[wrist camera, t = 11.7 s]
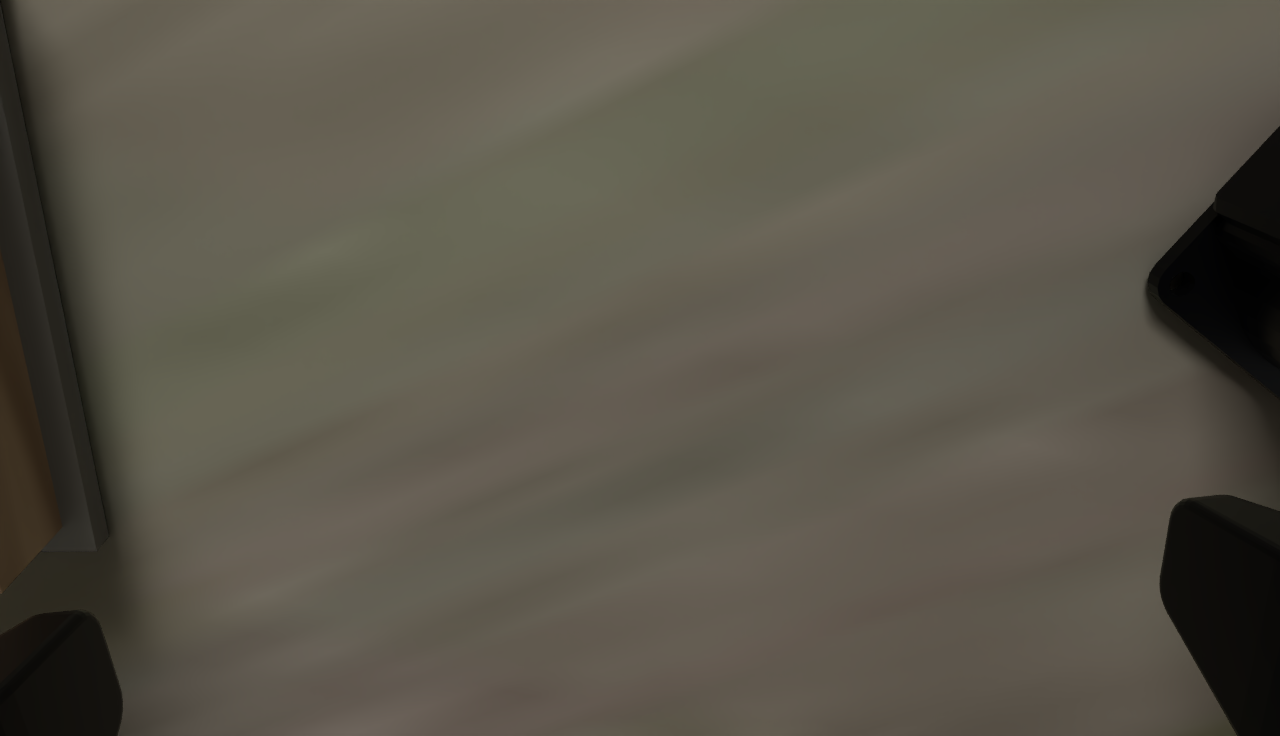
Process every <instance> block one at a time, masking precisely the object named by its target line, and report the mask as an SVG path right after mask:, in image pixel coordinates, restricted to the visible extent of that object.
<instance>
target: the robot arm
mask: <svg viewBox="0 0 1280 736" xmlns="http://www.w3.org/2000/svg"><path fill="white" fill-rule="evenodd" d="M1181 272H1184V280H1183V282H1182V284H1181V285H1180V286H1179V287H1177V288H1176V289H1172V290H1170V282H1171V280H1172V279H1173V277H1174V276H1176V275H1177V274H1178V273H1181ZM1148 287H1149V291H1150V292H1151V294H1152V295H1153V296H1154V297H1155V298H1156V299H1157V300H1158V301H1159V302H1161V303H1162V304H1163V305H1164V306H1166V307H1167V308H1168V309H1169V310H1171V311H1172V312H1173V313H1174V314H1175V315H1177V316H1178V317H1179V318H1180V319H1182V320H1183V321H1184V322H1185V323H1186V324H1188V325H1189V326H1190V327H1191V328H1193V329H1194V330H1195V331H1196V332H1197V333H1199V334H1200V335H1201V336H1202V337H1204V338H1205V339H1206V340H1207V341H1208V342H1210V343H1211V344H1212V345H1213V346H1215V347H1216V348H1217V349H1218V350H1220V351H1221V352H1222V353H1223V354H1224V355H1226V356H1227V357H1228V358H1229V359H1231V360H1232V361H1233V362H1234V363H1235V364H1237V365H1238V366H1239V367H1240V368H1242V369H1243V370H1244V371H1245V372H1246V373H1248V374H1249V375H1250V376H1251V377H1253V378H1254V379H1255V380H1256V381H1258V382H1259V383H1260V384H1261V385H1262V386H1264V387H1265V388H1266V389H1267V390H1269V391H1270V392H1271V393H1272V394H1273V395H1275V396H1276V397H1277V398H1278V399H1280V126H1279V127H1278V128H1277V129H1276V130H1275V132H1274V133H1273V134H1272V135H1271V136H1270V137H1269V138H1268V139H1267V140H1266V141H1265V142H1264V143H1263V144H1262V145H1261V147H1260V148H1259V149H1258V150H1257V151H1256V152H1255V153H1254V154H1253V155H1252V156H1251V157H1250V158H1249V159H1248V160H1247V161H1246V163H1245V164H1244V165H1243V166H1242V167H1241V168H1240V169H1239V170H1238V171H1237V172H1236V173H1235V174H1234V175H1233V176H1232V177H1231V179H1230V180H1229V181H1228V182H1227V183H1226V184H1225V185H1224V186H1223V187H1222V188H1221V189H1220V190H1219V191H1218V193H1217V194H1216V197H1215V201H1214V202H1213V204H1212V205H1211V206H1210V207H1209V208H1208V209H1207V210H1206V211H1205V212H1204V213H1203V214H1202V215H1201V216H1200V217H1199V218H1198V219H1197V221H1196V222H1195V223H1194V224H1193V225H1192V226H1191V227H1190V228H1189V229H1188V230H1187V231H1186V232H1185V233H1184V234H1183V235H1182V237H1181V238H1180V239H1179V240H1178V241H1177V242H1176V243H1175V244H1174V245H1173V246H1172V247H1171V248H1170V249H1169V250H1168V251H1167V253H1166V254H1165V255H1164V256H1163V257H1162V258H1161V259H1160V260H1159V261H1158V262H1157V263H1156V264H1155V266H1154V267H1153V269H1152V270H1151V272H1150V274H1149V278H1148ZM1160 593H1161V598H1162V601H1163V604H1164V607H1165V609H1166V611H1167V613H1168V615H1169V617H1170V618H1171V620H1172V622H1173V624H1174V625H1175V627H1176V629H1177V631H1178V632H1179V634H1180V636H1181V638H1182V640H1183V641H1184V643H1185V645H1186V647H1187V648H1188V650H1189V652H1190V654H1191V655H1192V657H1193V659H1194V661H1195V662H1196V664H1197V666H1198V668H1199V669H1200V671H1201V673H1202V675H1203V676H1204V678H1205V680H1206V682H1207V683H1208V685H1209V687H1210V689H1211V690H1212V692H1213V694H1214V696H1215V697H1216V699H1217V701H1218V703H1219V704H1220V706H1221V708H1222V710H1223V711H1224V713H1225V715H1226V717H1227V718H1228V720H1229V722H1230V724H1231V725H1232V727H1233V729H1234V731H1235V732H1236V734H1237V736H1280V511H1277V510H1274V509H1271V508H1268V507H1265V506H1262V505H1258V504H1255V503H1252V502H1249V501H1246V500H1243V499H1240V498H1237V497H1234V496H1230V495H1214V496H1204V497H1195V498H1187V499H1183V500H1181V501H1180V502H1178V503H1177V504H1176V505H1175V506H1174V508H1173V510H1172V512H1171V516H1170V520H1169V526H1168V532H1167V538H1166V544H1165V550H1164V556H1163V562H1162V568H1161V574H1160ZM122 712H123V699H122V692H121V688H120V685H119V681H118V678H117V675H116V672H115V669H114V666H113V662H112V659H111V656H110V653H109V650H108V647H107V643H106V640H105V637H104V634H103V631H102V628H101V625H100V623H99V621H98V620H97V618H96V617H95V615H94V614H92V613H90V612H88V611H86V610H73V611H63V612H53V613H43V614H39V615H35V616H32V617H30V618H28V619H27V620H25V621H23V622H22V623H20V624H18V625H17V626H15V627H13V628H12V629H10V630H8V631H7V632H5V633H3V634H2V635H0V736H117V735H118V731H119V728H120V724H121V720H122Z"/></svg>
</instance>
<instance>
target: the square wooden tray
mask: <svg viewBox="0 0 1280 736" xmlns="http://www.w3.org/2000/svg"><path fill="white" fill-rule="evenodd" d="M108 537H109V534H108V529H107V525H106V520H105V515H104V510H103V505H102V500H101V495H100V490H99V485H98V480H97V475H96V471H95V466H94V461H93V456H92V451H91V446H90V441H89V436H88V431H87V426H86V421H85V417H84V412H83V407H82V402H81V397H80V392H79V387H78V382H77V377H76V372H75V367H74V363H73V358H72V353H71V348H70V343H69V338H68V333H67V328H66V323H65V318H64V313H63V309H62V304H61V299H60V294H59V289H58V284H57V279H56V274H55V269H54V264H53V259H52V254H51V250H50V245H49V240H48V235H47V230H46V225H45V220H44V215H43V210H42V205H41V200H40V196H39V191H38V186H37V181H36V176H35V171H34V166H33V161H32V156H31V151H30V146H29V142H28V137H27V132H26V127H25V122H24V117H23V112H22V107H21V102H20V97H19V92H18V88H17V83H16V78H15V73H14V68H13V63H12V58H11V53H10V48H9V43H8V38H7V34H6V29H5V24H4V19H3V14H2V9H1V4H0V594H2V593H3V592H4V591H5V589H6V588H7V587H8V586H9V585H10V584H11V583H12V582H13V581H14V580H15V579H16V577H17V576H18V575H19V574H20V573H21V572H22V571H23V570H24V569H25V568H26V566H27V565H28V564H29V563H30V562H31V561H32V560H33V559H34V558H35V557H36V556H37V554H38V553H39V552H67V551H97V550H98V549H99V548H100V547H101V545H102V544H103V543H104V542H105V541H106V539H107V538H108Z"/></svg>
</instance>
